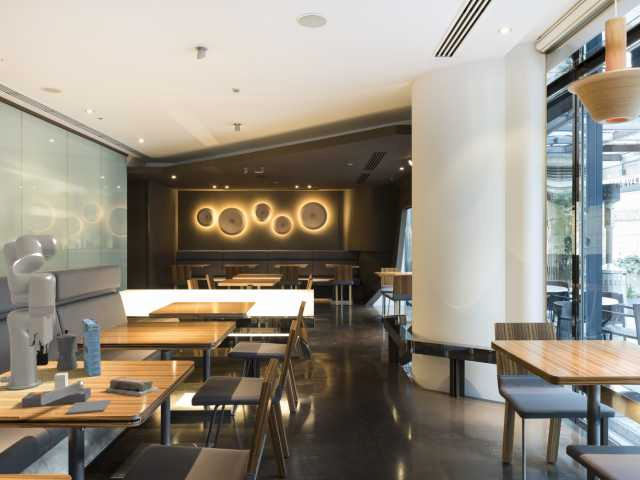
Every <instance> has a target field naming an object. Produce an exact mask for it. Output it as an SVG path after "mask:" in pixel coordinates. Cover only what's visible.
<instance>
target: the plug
mask: <svg viewBox="0 0 640 480" xmlns="http://www.w3.org/2000/svg"><path fill="white" fill-rule="evenodd" d="M53 377H54V389H53V390H52V391H55V390H57V389H60V388H63V387H66V386H68V385H69V372H57V373H56V374H55V375H54V376H53Z"/></svg>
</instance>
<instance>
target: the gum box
mask: <svg viewBox="0 0 640 480" xmlns="http://www.w3.org/2000/svg"><path fill="white" fill-rule="evenodd" d="M81 322H82V323H81V324H82V350H83V353H82V354H83V370H84V371H85V373H87V375H88V376H89V377H95V376H96V377H97V376H101V375H102V368H101V367H102V366H101V362H102V361H101V339H100V332H101V331H100V323H99V322H97V321H96V320H95V319H93V318H84V319H81Z"/></svg>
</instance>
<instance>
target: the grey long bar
mask: <svg viewBox="0 0 640 480" xmlns="http://www.w3.org/2000/svg"><path fill="white" fill-rule="evenodd" d="M83 383H84V381H83V380H80V381H79V380H78V381H76V382H74V383H72V384H71V383H70V384H68V386H66V387H63V388H60V389H57V390H55V391H53V390H51V391H52V392H49V393H47V394H44V395H41V405H45V404H47V403H50V402H53V401H55V400H58V399H60V398H63V397H65V396H68V395H70V394H73V393H75V392H78V391H81V390H83V388H84V384H83Z"/></svg>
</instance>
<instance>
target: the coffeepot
mask: <svg viewBox="0 0 640 480" xmlns="http://www.w3.org/2000/svg"><path fill="white" fill-rule="evenodd" d="M55 340H56V347H57V351H58V356H57V363H56V370H57V371H62V372H63V371H70V370H75V369H77V368H78V363H77V357H76V348H77V340H78V335H77V334H73V333H69V329H64V333H57V335H56V336H55Z"/></svg>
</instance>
